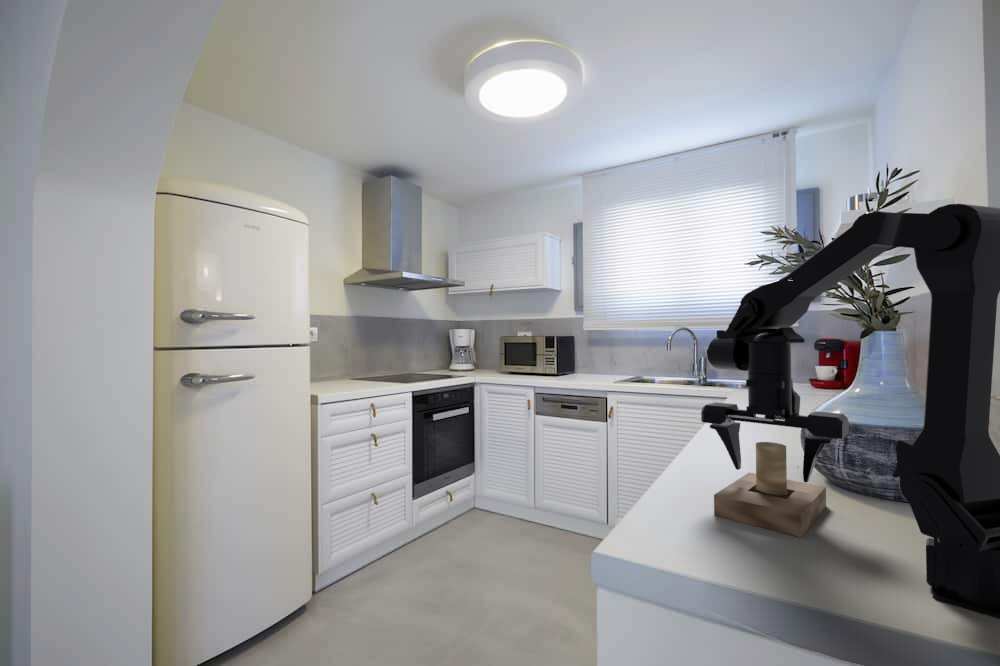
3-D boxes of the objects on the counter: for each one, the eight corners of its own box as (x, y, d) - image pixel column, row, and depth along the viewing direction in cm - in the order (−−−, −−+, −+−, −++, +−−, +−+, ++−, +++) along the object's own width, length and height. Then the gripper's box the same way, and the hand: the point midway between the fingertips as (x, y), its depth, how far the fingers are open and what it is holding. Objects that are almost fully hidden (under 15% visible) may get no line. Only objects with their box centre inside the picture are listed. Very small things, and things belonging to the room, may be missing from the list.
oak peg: (791, 510, 69) (790, 444, 69) (783, 518, 66) (782, 449, 66) (760, 503, 72) (759, 440, 72) (752, 510, 69) (751, 444, 69)
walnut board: (826, 506, 71) (825, 486, 71) (800, 537, 60) (800, 514, 60) (749, 489, 79) (749, 472, 79) (714, 514, 68) (713, 494, 68)
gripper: (854, 373, 69) (856, 476, 68) (724, 368, 82) (725, 455, 82) (840, 377, 61) (842, 494, 61) (699, 371, 74) (700, 467, 74)
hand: (770, 475), depth 69 cm, fingers open, 9 cm apart
